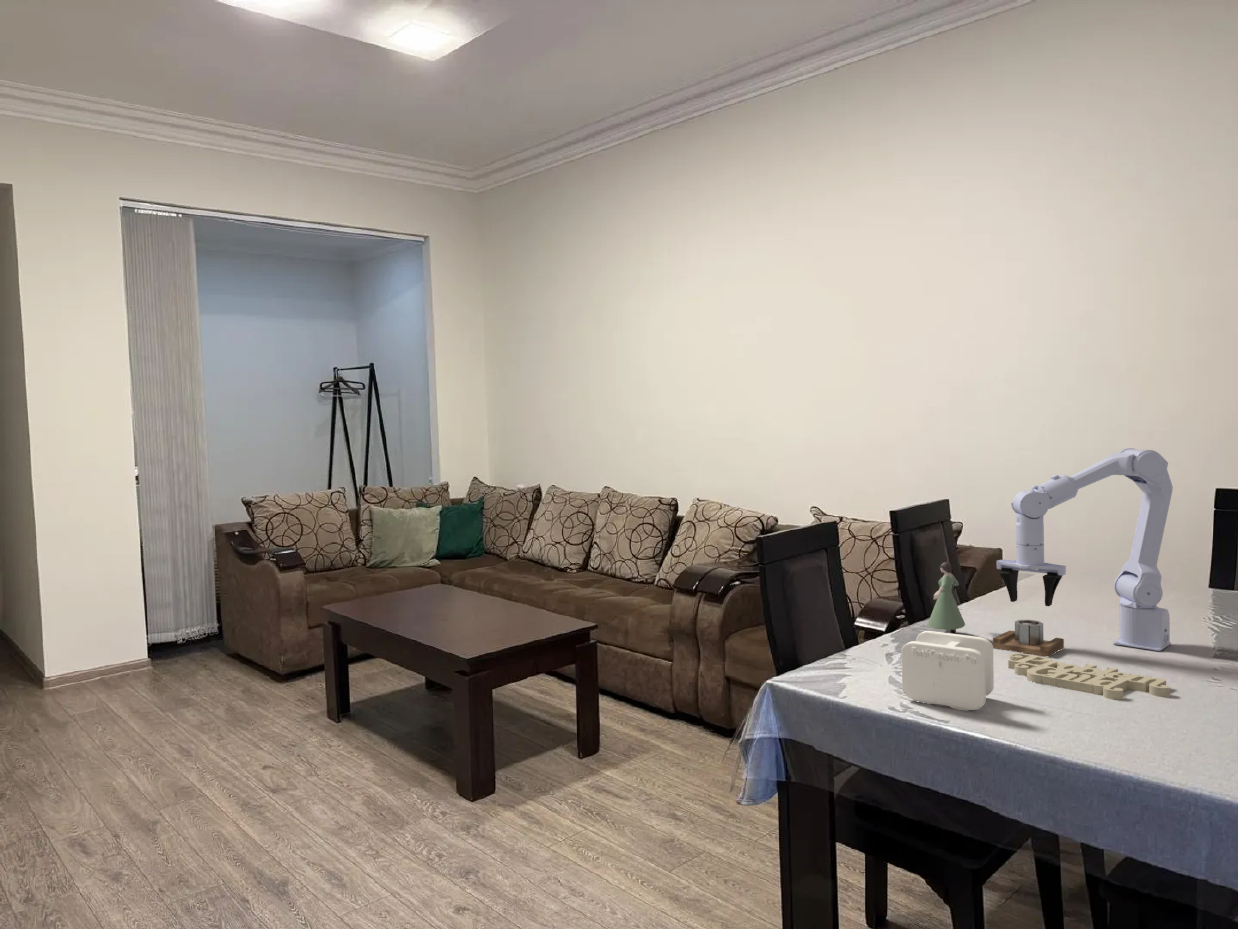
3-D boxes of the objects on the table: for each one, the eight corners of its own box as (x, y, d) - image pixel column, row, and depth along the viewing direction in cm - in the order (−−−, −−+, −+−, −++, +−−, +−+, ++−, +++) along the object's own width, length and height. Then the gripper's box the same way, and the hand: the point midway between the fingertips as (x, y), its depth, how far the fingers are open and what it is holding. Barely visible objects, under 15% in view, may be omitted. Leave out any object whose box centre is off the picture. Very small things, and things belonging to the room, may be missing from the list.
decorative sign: (986, 668, 178) (1014, 651, 189) (986, 677, 178) (1014, 661, 189) (1157, 698, 156) (1178, 678, 167) (1157, 710, 157) (1178, 689, 167)
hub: (1046, 641, 197) (1046, 622, 197) (1036, 647, 193) (1036, 627, 193) (1021, 637, 201) (1021, 618, 201) (1011, 642, 197) (1011, 623, 197)
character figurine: (945, 626, 219) (943, 555, 218) (978, 630, 213) (977, 558, 212) (917, 639, 207) (915, 564, 206) (951, 644, 202) (950, 568, 201)
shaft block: (1063, 648, 195) (1063, 624, 195) (1048, 657, 189) (1047, 632, 189) (1009, 639, 204) (1009, 616, 204) (993, 647, 198) (992, 624, 198)
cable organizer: (999, 699, 164) (998, 639, 163) (982, 716, 156) (981, 652, 155) (919, 686, 173) (918, 629, 173) (900, 701, 165) (898, 641, 164)
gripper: (990, 543, 200) (991, 602, 200) (1057, 549, 189) (1057, 610, 190) (1003, 539, 205) (1004, 596, 205) (1069, 544, 194) (1069, 604, 195)
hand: (1030, 603), depth 198 cm, fingers open, 7 cm apart
